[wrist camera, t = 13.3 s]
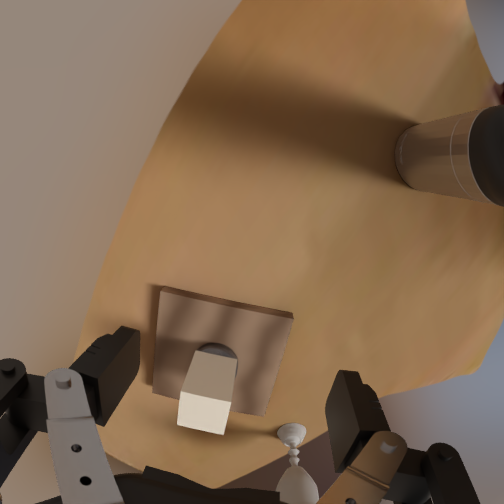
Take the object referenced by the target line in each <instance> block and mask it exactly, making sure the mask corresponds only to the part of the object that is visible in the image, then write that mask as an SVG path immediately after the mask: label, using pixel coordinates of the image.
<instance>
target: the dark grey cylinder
mask: <svg viewBox="0 0 504 504" xmlns="http://www.w3.org/2000/svg"><path fill="white" fill-rule="evenodd" d="M196 351H201V352H205V353H210V354H214V355H219V356H224V357H229V358H234V359H237V365H236V373H235V378H236V375H237V369H238V358H237V356H236V354H235V353H234V351H233V350H232V349H231V348H229V347H228V346H226V345H224V344H220V343H207V344H204V345H202V346H200V347H199V348H198V349H197V350H196Z"/></svg>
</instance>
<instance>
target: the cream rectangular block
mask: <svg viewBox="0 0 504 504" xmlns="http://www.w3.org/2000/svg"><path fill="white" fill-rule="evenodd" d="M236 365H237V359H234V358H229V357H224V356H219V355H214V354H210V353H205V352H201V351H195V353H194V356H193V359H192V362H191V364H190V367H189V370H188V372H187V375H186V378H185V381H184V383H183V386H182V389H181V393H180V402H179V411H178V420H177V425H180V426H184V427H188V428H193V429H197V430H202V431H206V432H211V433H216V434H221V435H224V431H225V427H226V423H227V418H228V414H229V410H230V406H231V401H232V394H233V387H234V380H235V373H236Z"/></svg>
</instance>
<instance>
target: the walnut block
mask: <svg viewBox="0 0 504 504" xmlns="http://www.w3.org/2000/svg"><path fill="white" fill-rule="evenodd" d="M293 320H294V318H293V313H291V312H285V311H280V310H275V309H270V308H264V307H259V306H254V305H249V304H244V303H240V302H235V301H230V300H225V299H221V298H216V297H211V296H207V295H202V294H198V293H193V292H189V291H184V290H180V289H176V288H171V287H167V286H164V287H163V289H162V290H161V291H160V300H159V309H158V320H157V331H156V343H155V356H154V371H153V390H152V393H155V394H159V395H162V396H166V397H170V398H174V399H178V400H180V393H181V389H182V386H183V383H184V381H185V378H186V375H187V372H188V370H189V367H190V364H191V362H192V359H193V356H194V353H195V351H196V350H197V349H198V348H199V347H200V346H202V345H204V344H207V343H220V344H224V345H226V346H228V347H229V348H231V349H232V350H233V351H234V353H235V354H236V356H237V358H238V369H237V375H236V378H235V380H234V387H233V394H232V401H231V406H230V410H229V411H233V412H239V413H244V414H250V415H256V416H263V417H264V415H265V412H266V409H267V405H268V402H269V399H270V396H271V393H272V390H273V387H274V384H275V380H276V377H277V374H278V371H279V367H280V364H281V361H282V357H283V354H284V351H285V347H286V344H287V341H288V337H289V334H290V330H291V327H292V323H293Z"/></svg>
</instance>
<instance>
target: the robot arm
mask: <svg viewBox="0 0 504 504" xmlns="http://www.w3.org/2000/svg"><path fill="white" fill-rule="evenodd" d="M395 162H396V166H397V170H398V172H399V174H400V176H401V177H402V179H403V180H404V181H405V182H406V183H407V184H408V185H409V186H410V187H412V188H414V189H416V190H419V191H423V192H429V193H435V194H441V195H447V196H452V197H458V198H463V199H469V200H474V201H479V202H485V203H490V204H495V205H499V206H504V105H498V106H494V107H489V108H485V109H480V110H476V111H472V112H468V113H464V114H459V115H455V116H451V117H447V118H443V119H439V120H435V121H431V122H427V123H423V124H420V125H416V126H413V127H410V128H408V129H407V130H405V131H404V132H403V133H402V134H401V136H400V137H399V139H398V141H397V144H396V148H395ZM139 365H140V331H139V330H136V329H132V328H129V327H125V326H121V327H120V328H119V329H118V330H117V331H116V332H115V333H114V334H113V335H110V334H106V335H104V336H101V337H99V338H97V339H96V340H95V341H94V342H93V343H92V344H91V346H89V348H88V349H87V350H86V352H84V353H83V354H82V355H81V356H80V357H79V358H78V359H77V360H76V361H75V362H74V363H73V364H72V365H71V366H70V367H69V368H68V369H67V368H59V369H55V370H52V371H50V372H49V373H48V374H47V375H46V376H45V377H43V376H37V375H32V374H27V373H26V368H25V366H24V364H23V363H22V362H21V361H19V360H16V359H11V358H9V359H2V360H0V417H1V416H2V415H3V413H4V412H6V413H5V414H4V415H3V416H2V417H1V419H0V487H1V486H2V484H3V483H4V481H5V480H6V478H7V477H8V475H9V473H10V472H11V470H12V469H13V467H14V466H15V464H16V463H17V461H18V460H19V458H20V457H21V455H22V454H23V452H24V451H25V449H26V447H27V446H28V445H29V443H30V442H31V440H32V439H33V438H34V436H35V435H36V433H37V432H38V431H41V432H46V433H48V436H49V442H50V448H51V454H52V459H53V464H54V469H55V473H56V478H57V482H58V486H59V490H60V494H61V495H60V496H57V497H54V498H51V499H49V500H45V501H43V502H39V503H36V504H288V503H286V502H283V501H280V492H277V491H267V490H258V489H251V488H235V489H211V488H208V487H205V486H203V485H200V484H198V483H196V482H193V481H191V480H189V479H187V478H185V477H182V476H180V475H178V474H174V473H171V472H167V471H163V470H160V469H156V468H153V467H149V466H146V467H145V469H144V472H143V474H141V473H125V474H118V475H114V476H113V474H112V472H111V469H110V466H109V463H108V460H107V458H106V455H105V452H104V449H103V446H102V443H101V440H100V437H99V434H98V431H97V427H96V424H98V425H101V426H103V427H104V426H105V425H106V423H107V421H108V420H109V418H110V417H111V415H112V413H113V412H114V410H115V409H116V407H117V405H118V404H119V402H120V401H121V399H122V397H123V396H124V394H125V393H126V391H127V390H128V388H129V386H130V385H131V383H132V382H133V380H134V379H135V377H136V375H137V373H138V370H139ZM381 408H382V407H381V405H380V403H379V400H378V397H377V395H376V393H375V391H374V390H373V389H372V388H371V387H370V386H369V385H368V384H363V383H362V380H361V378H360V375H359V373H358V372H356V371H347V370H339V371H338V373H337V375H336V378H335V380H334V383H333V386H332V388H331V391H330V393H329V396H328V398H327V401H326V407H325V414H326V420H327V425H328V431H329V437H330V443H331V449H332V454H333V460H334V467H335V472H336V473H342V474H341V475H340V476H339V478H338V479H337V480H336V481H335V482H334V484H333V485H332V486H331V487H330V488H329V490H327V492H326V493H325V494H324V495H323V496H322V497H321V498H320V499H319V500H318V502H317V503H316V504H380V502H381V501H382V499H386V500H391V501H393V502H394V504H480V502H479V499H478V497H477V494H476V492H475V490H474V487H473V485H472V483H471V480H470V478H469V476H468V473H467V471H466V469H465V466H464V464H463V462H462V460H461V458H460V455H459V453H458V452H457V451H456V450H455V449H454V448H453V447H452V446H450V445H448V444H445V443H435V444H432V445H431V446H430V447H429V449H428V450H427V451H426V452H425V451H420V450H415V449H410V448H408V447H407V443H406V442H405V440H404V439H403V438H402V437H401V436H400V435H398V434H396V433H394V432H391V430H390V428H389V425H388V423H387V420H386V418H385V415H384V412H383V410H381ZM431 497H432V500H433V503H432V500H431ZM0 504H2V496H1V493H0Z"/></svg>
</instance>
